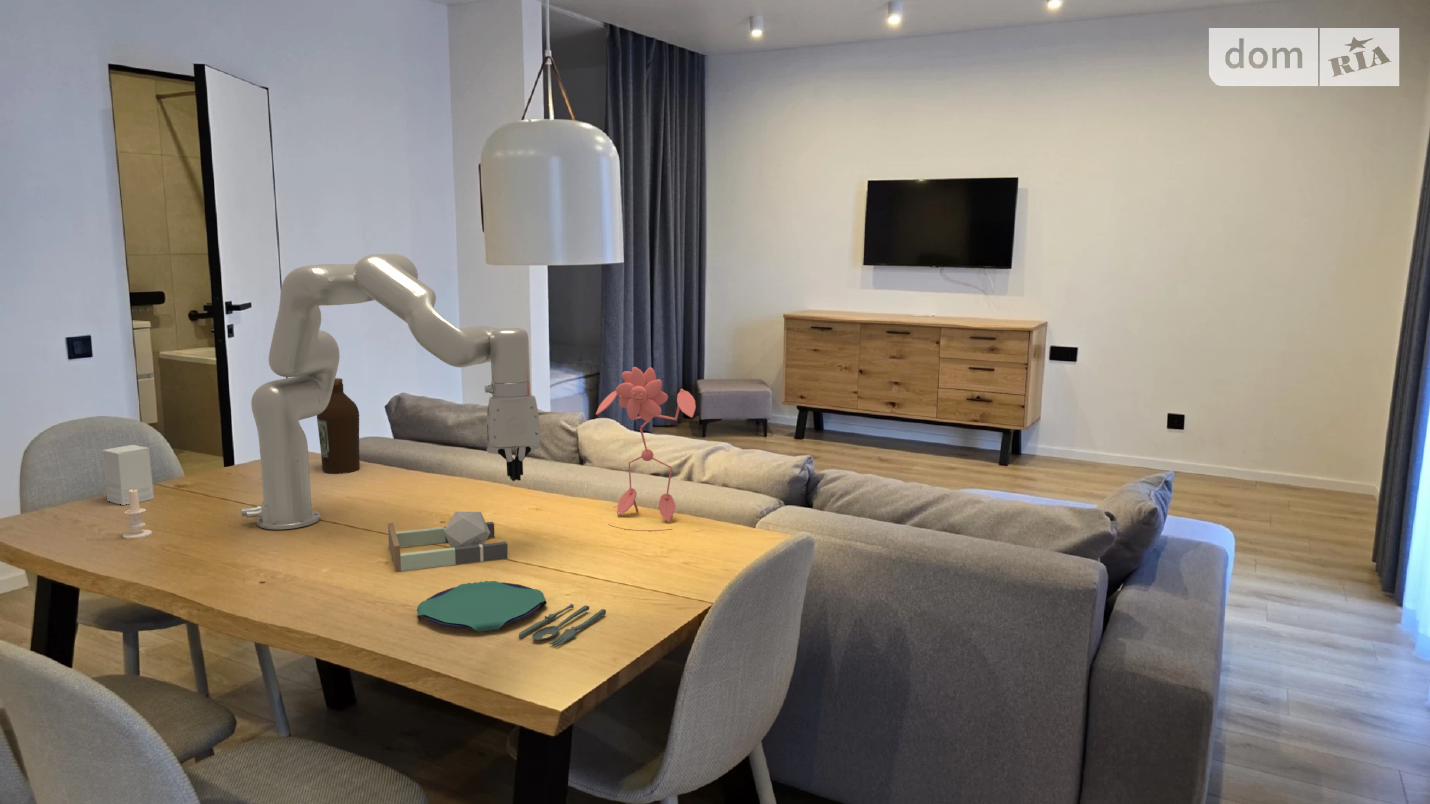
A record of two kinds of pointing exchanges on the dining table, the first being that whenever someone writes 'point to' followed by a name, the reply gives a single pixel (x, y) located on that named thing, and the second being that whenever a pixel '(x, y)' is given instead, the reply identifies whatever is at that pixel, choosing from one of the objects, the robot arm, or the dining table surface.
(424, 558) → the trap lane
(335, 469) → the olive oil
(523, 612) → the cutlery set
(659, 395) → the figurine
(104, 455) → the supplement box
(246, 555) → the dining table surface
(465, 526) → the die
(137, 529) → the candle
